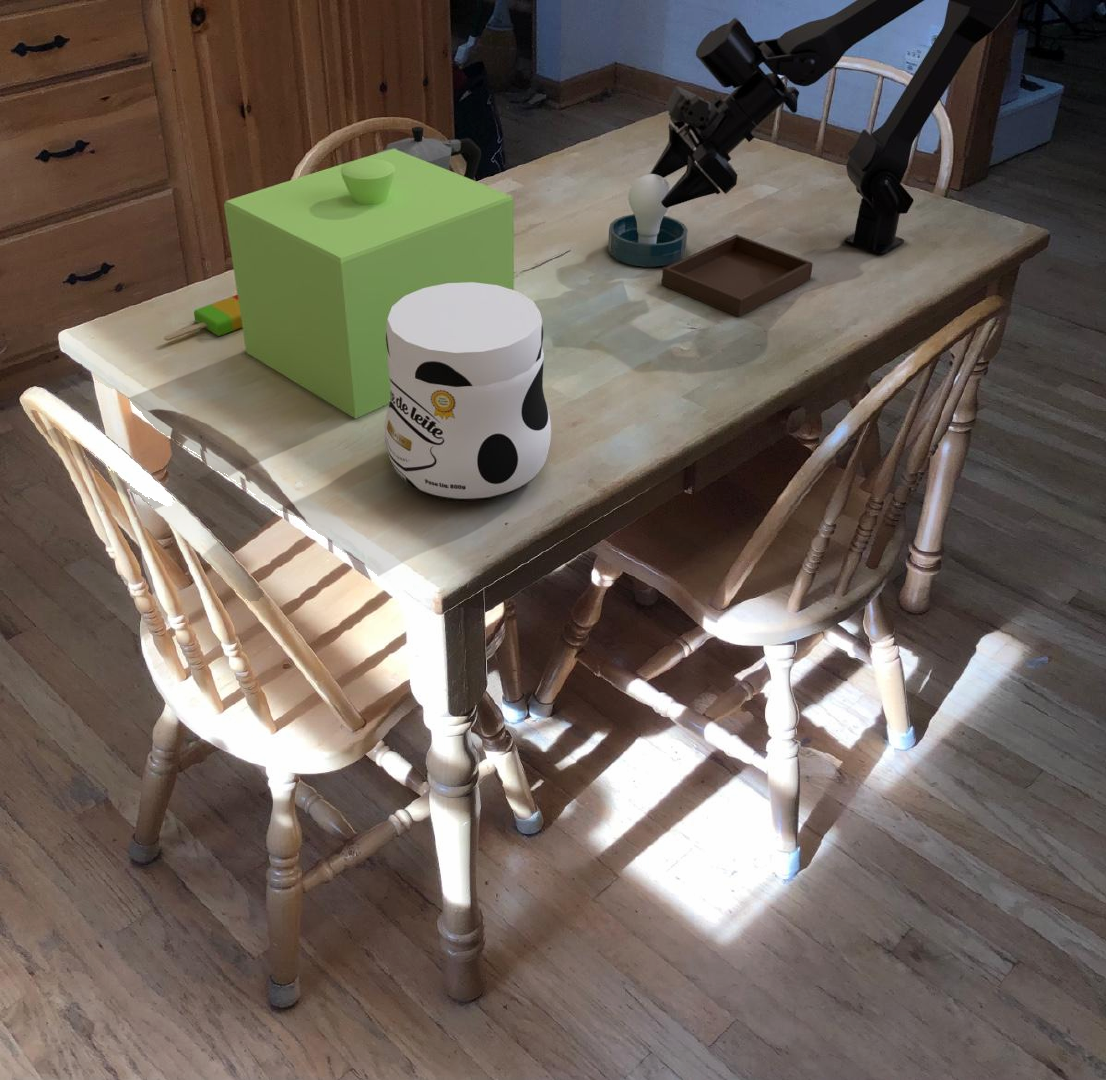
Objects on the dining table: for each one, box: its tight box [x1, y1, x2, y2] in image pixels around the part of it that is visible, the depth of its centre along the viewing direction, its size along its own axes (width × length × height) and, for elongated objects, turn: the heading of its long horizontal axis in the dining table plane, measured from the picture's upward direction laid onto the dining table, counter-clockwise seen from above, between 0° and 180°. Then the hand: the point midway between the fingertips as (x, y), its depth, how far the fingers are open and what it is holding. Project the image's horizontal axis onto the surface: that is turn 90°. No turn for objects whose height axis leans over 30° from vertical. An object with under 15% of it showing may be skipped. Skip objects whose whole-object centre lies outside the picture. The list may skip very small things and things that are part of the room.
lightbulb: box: [627, 173, 672, 244], centre depth 171 cm, size 6×6×11 cm
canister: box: [223, 149, 515, 419], centre depth 144 cm, size 25×21×23 cm
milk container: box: [384, 282, 552, 502], centre depth 125 cm, size 17×17×18 cm
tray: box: [661, 234, 814, 318], centre depth 167 cm, size 16×13×2 cm
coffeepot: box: [376, 126, 482, 181], centre depth 168 cm, size 15×9×18 cm, turn 113°
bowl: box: [607, 213, 688, 268], centre depth 174 cm, size 11×11×4 cm
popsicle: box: [163, 294, 243, 342], centre depth 155 cm, size 6×15×2 cm, turn 135°
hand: (656, 192), depth 170 cm, fingers open, 9 cm apart
